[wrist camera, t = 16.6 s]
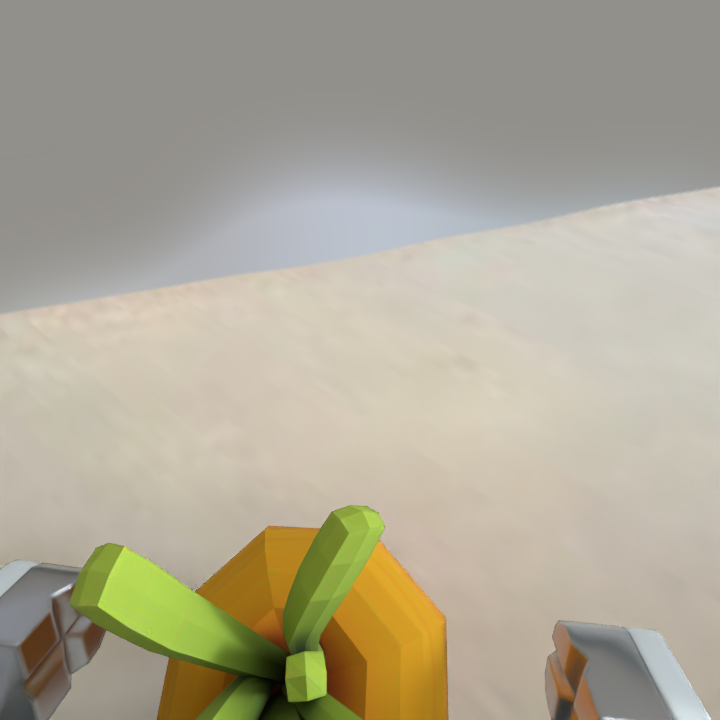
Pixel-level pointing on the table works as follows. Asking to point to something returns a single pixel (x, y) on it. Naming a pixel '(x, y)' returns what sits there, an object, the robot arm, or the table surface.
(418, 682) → the carrot
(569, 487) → the table surface
